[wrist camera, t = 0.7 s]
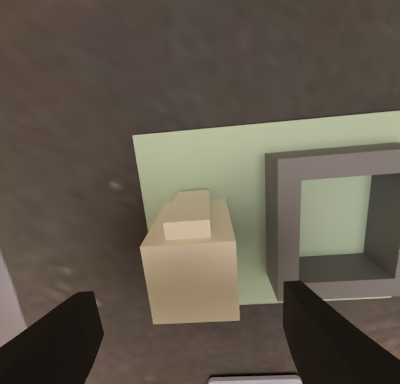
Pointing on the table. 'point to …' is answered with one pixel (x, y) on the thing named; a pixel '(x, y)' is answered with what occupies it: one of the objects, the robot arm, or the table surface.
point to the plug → (192, 261)
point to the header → (293, 199)
